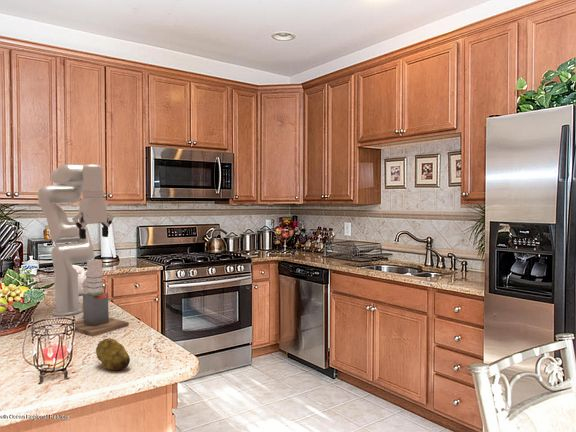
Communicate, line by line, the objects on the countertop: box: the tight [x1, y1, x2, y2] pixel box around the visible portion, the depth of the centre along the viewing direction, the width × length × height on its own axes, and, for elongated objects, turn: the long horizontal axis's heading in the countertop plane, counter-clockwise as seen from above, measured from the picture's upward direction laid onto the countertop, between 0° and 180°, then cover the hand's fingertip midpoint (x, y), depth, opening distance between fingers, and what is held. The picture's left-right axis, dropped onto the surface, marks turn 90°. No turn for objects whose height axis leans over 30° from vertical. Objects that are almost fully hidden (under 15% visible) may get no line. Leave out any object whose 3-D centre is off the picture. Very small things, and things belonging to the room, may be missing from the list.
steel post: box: [86, 258, 104, 296], centre depth 180 cm, size 4×4×20 cm
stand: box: [74, 292, 130, 337], centre depth 180 cm, size 20×16×14 cm
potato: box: [95, 337, 131, 371], centre depth 138 cm, size 8×13×8 cm, turn 34°
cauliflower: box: [72, 264, 87, 296], centre depth 243 cm, size 20×18×16 cm
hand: (94, 237), depth 180 cm, fingers open, 9 cm apart
